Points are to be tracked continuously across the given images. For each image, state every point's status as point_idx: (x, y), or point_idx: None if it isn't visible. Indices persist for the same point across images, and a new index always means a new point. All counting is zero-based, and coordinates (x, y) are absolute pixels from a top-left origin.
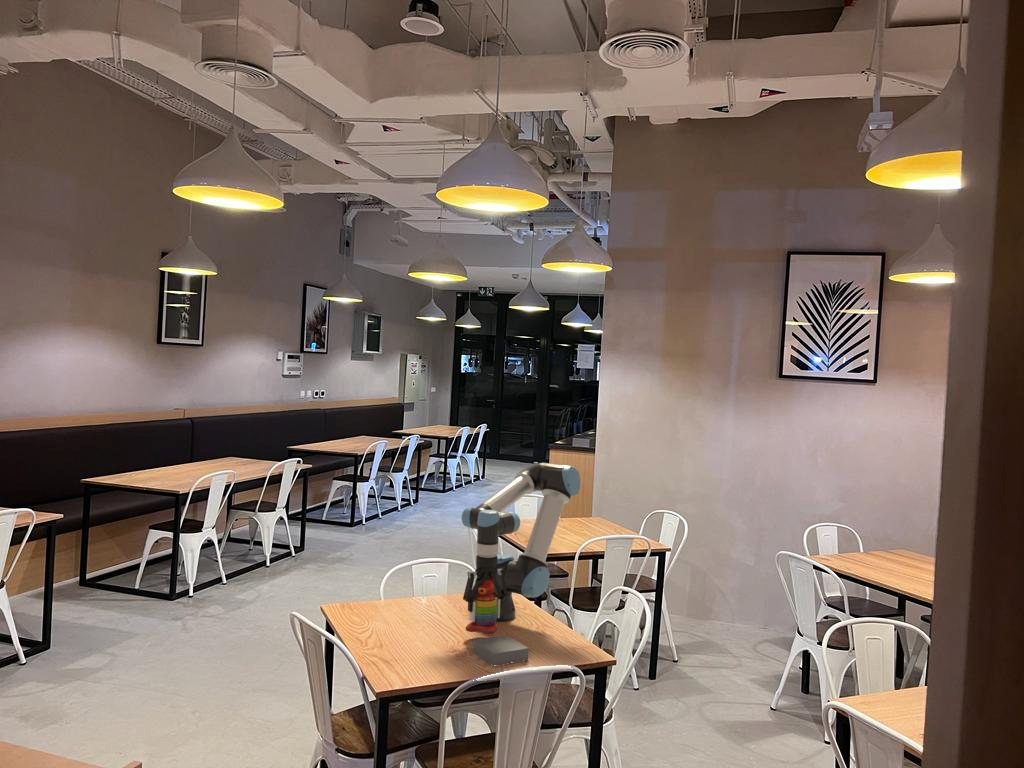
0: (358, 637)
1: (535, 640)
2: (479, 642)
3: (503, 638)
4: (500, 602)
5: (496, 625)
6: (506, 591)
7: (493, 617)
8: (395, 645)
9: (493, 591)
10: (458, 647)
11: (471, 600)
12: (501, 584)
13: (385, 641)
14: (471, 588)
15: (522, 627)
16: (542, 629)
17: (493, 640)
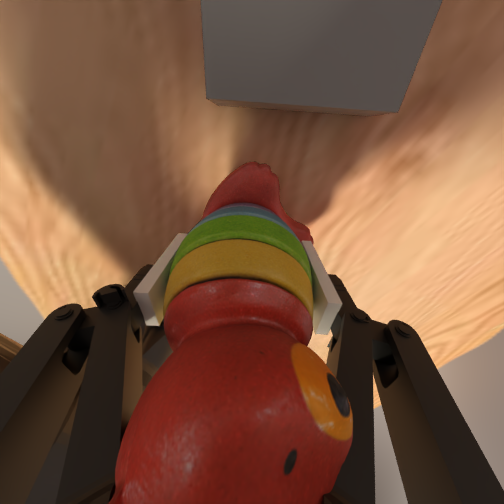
0: (469, 332)
1: (74, 114)
2: (409, 48)
3: (250, 43)
4: (139, 283)
5: (206, 210)
6: (33, 339)
7: (227, 209)
8: (472, 274)
9: (171, 358)
10: (366, 188)
11: (366, 323)
12: (23, 433)
13: (458, 300)
14: (448, 452)
15: (98, 245)
16: (33, 206)
17: (321, 38)
